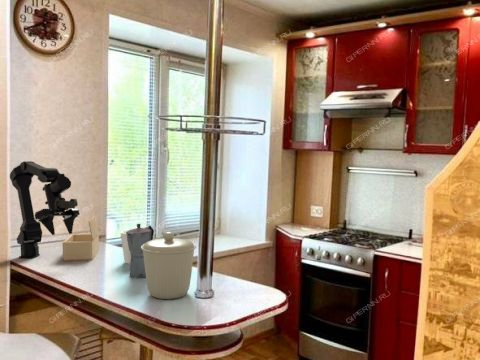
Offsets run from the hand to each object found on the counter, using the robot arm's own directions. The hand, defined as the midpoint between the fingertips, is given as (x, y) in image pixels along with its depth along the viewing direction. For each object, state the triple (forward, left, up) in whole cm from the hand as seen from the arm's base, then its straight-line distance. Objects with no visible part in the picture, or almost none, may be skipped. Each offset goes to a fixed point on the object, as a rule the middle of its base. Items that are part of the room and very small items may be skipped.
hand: (62, 234), depth 182 cm
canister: (+51, -26, -14) cm, 59 cm away
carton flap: (+3, +23, -1) cm, 23 cm away
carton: (-2, +21, -14) cm, 26 cm away
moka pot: (+34, -4, -14) cm, 37 cm away
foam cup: (+24, +14, -14) cm, 31 cm away
